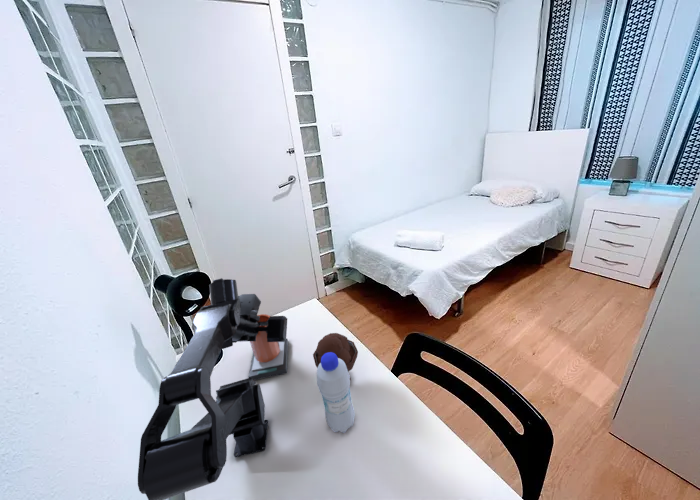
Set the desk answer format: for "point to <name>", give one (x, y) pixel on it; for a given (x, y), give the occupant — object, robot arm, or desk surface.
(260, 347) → the tumbler
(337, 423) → the bottle
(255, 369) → the scale
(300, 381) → the desk surface
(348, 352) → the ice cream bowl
